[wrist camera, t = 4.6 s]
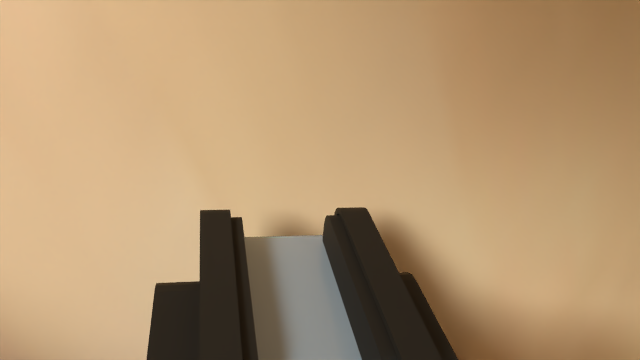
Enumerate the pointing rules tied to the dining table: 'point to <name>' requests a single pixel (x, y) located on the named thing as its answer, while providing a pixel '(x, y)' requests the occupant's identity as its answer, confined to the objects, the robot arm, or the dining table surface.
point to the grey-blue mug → (297, 301)
